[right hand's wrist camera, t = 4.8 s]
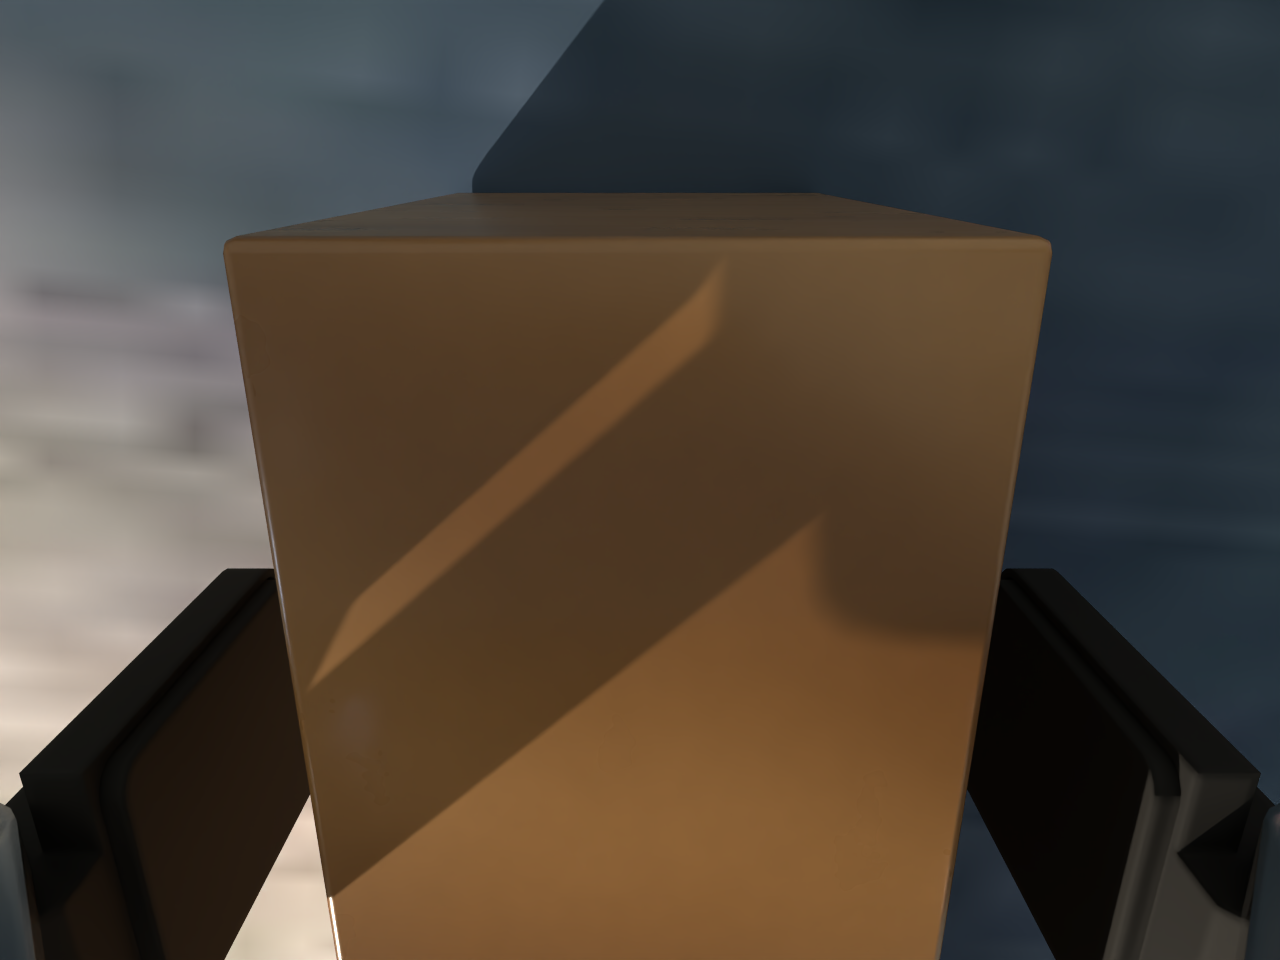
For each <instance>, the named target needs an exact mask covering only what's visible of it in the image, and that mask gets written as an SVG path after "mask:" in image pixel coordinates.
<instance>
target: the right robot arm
mask: <svg viewBox="0 0 1280 960" xmlns="http://www.w3.org/2000/svg"><path fill="white" fill-rule="evenodd" d="M1260 774H1261V773H1260V772H1259V771H1258V770H1257V769H1256V768H1255V767H1254V766H1253V765H1252V764H1251V763H1250V762H1249V761H1248V760H1247V759H1246V758H1245V757H1244V756H1243V755H1242V754H1241V753H1240V752H1239V751H1238V750H1237V749H1236V748H1235V747H1234V746H1233V745H1232V744H1231V743H1230V742H1229V741H1228V740H1227V739H1226V738H1225V737H1224V736H1223V735H1222V734H1221V733H1220V732H1219V731H1218V730H1217V729H1216V728H1215V727H1214V726H1213V725H1212V724H1211V723H1210V722H1209V721H1208V720H1207V719H1206V718H1205V717H1203V716H1202V715H1201V714H1200V713H1199V712H1198V711H1197V710H1196V709H1195V708H1194V707H1193V706H1192V705H1191V704H1190V703H1189V702H1188V701H1187V700H1186V699H1185V698H1184V697H1183V696H1182V695H1181V694H1180V693H1179V692H1178V691H1177V690H1176V689H1175V688H1174V687H1173V686H1172V685H1171V684H1170V683H1169V682H1168V681H1167V680H1166V679H1165V678H1164V677H1163V676H1162V675H1161V674H1160V673H1159V672H1158V671H1157V670H1156V669H1155V668H1154V667H1153V666H1152V665H1151V664H1150V663H1149V662H1148V661H1147V660H1146V659H1145V658H1144V657H1143V656H1142V655H1141V654H1140V653H1139V652H1138V651H1137V650H1136V649H1135V648H1134V647H1133V646H1132V645H1131V644H1130V643H1129V642H1128V641H1127V640H1126V639H1125V638H1124V637H1123V636H1122V635H1121V634H1120V633H1119V632H1118V631H1117V630H1116V629H1115V628H1114V627H1113V626H1112V625H1111V624H1110V623H1109V622H1108V621H1107V620H1106V619H1105V618H1104V617H1103V616H1102V615H1101V614H1100V613H1099V612H1098V611H1097V610H1096V609H1095V608H1094V607H1093V606H1092V605H1091V604H1090V603H1089V602H1088V601H1086V600H1085V599H1084V598H1083V597H1082V596H1081V595H1080V594H1079V593H1078V592H1077V591H1076V590H1075V589H1074V588H1073V587H1072V586H1071V585H1070V584H1069V583H1068V582H1067V581H1066V580H1065V579H1064V578H1063V577H1062V576H1061V575H1060V574H1059V573H1058V572H1057V571H1056V570H1054V569H1005V570H1004V571H1003V572H1002V574H1001V578H1000V584H999V590H998V597H997V603H996V609H995V615H994V622H993V628H992V634H991V641H990V647H989V653H988V659H987V666H986V672H985V678H984V684H983V691H982V697H981V703H980V710H979V716H978V722H977V728H976V735H975V741H974V747H973V754H972V760H971V766H970V772H969V779H968V785H967V790H968V792H969V794H970V795H971V797H972V799H973V801H974V803H975V805H976V807H977V809H978V811H979V813H980V815H981V817H982V819H983V821H984V822H985V824H986V826H987V828H988V830H989V832H990V834H991V836H992V838H993V840H994V842H995V844H996V846H997V848H998V849H999V851H1000V853H1001V855H1002V857H1003V859H1004V861H1005V863H1006V865H1007V867H1008V869H1009V871H1010V873H1011V875H1012V877H1013V878H1014V880H1015V882H1016V884H1017V886H1018V888H1019V890H1020V892H1021V894H1022V896H1023V898H1024V900H1025V902H1026V904H1027V905H1028V907H1029V909H1030V911H1031V913H1032V915H1033V917H1034V919H1035V921H1036V923H1037V925H1038V927H1039V929H1040V931H1041V932H1042V934H1043V936H1044V938H1045V940H1046V942H1047V944H1048V946H1049V948H1050V950H1051V952H1052V954H1053V956H1054V958H1055V959H1056V960H1280V803H1279V804H1277V805H1274V804H1273V803H1272V802H1271V801H1270V800H1269V799H1268V798H1267V797H1266V796H1265V795H1264V794H1263V793H1262V792H1261V791H1260V789H1259V788H1258V787H1257V784H1258V781H1259V778H1260ZM19 775H20V778H21V781H22V785H23V787H22V788H21V789H20V790H19V792H18V793H17V794H16V795H15V796H14V797H13V798H12V799H11V800H10V801H9V802H8V803H7V804H6V805H3V804H1V803H0V960H224V959H225V957H226V956H227V954H228V952H229V950H230V948H231V946H232V944H233V942H234V940H235V938H236V936H237V934H238V932H239V930H240V929H241V927H242V925H243V923H244V921H245V919H246V917H247V915H248V913H249V911H250V909H251V907H252V905H253V903H254V902H255V900H256V898H257V896H258V894H259V892H260V890H261V888H262V886H263V884H264V882H265V880H266V878H267V876H268V875H269V873H270V871H271V869H272V867H273V865H274V863H275V861H276V859H277V857H278V855H279V853H280V851H281V849H282V848H283V846H284V844H285V842H286V840H287V838H288V836H289V834H290V832H291V830H292V828H293V826H294V824H295V822H296V821H297V819H298V817H299V815H300V813H301V811H302V809H303V807H304V805H305V803H306V801H307V799H308V797H309V795H310V789H309V783H308V777H307V771H306V764H305V758H304V752H303V746H302V740H301V733H300V727H299V721H298V715H297V709H296V702H295V696H294V690H293V684H292V677H291V671H290V665H289V659H288V653H287V646H286V640H285V634H284V628H283V622H282V615H281V609H280V603H279V597H278V591H277V584H276V578H275V572H274V569H226V570H224V571H223V572H222V573H221V574H220V575H219V576H218V577H217V578H216V579H215V580H214V581H213V582H212V583H211V584H210V585H209V586H208V587H207V588H206V589H205V590H204V591H203V592H202V593H201V594H200V595H199V596H198V597H197V598H195V599H194V600H193V601H192V602H191V603H190V604H189V605H188V606H187V607H186V608H185V609H184V610H183V611H182V612H181V613H180V614H179V615H178V616H177V617H176V618H175V619H174V620H173V621H172V622H171V623H170V624H169V625H168V626H167V627H166V628H165V629H164V630H163V631H162V632H161V633H160V634H159V635H158V636H157V637H156V638H155V639H154V640H153V641H152V642H151V643H150V644H149V645H148V646H147V647H146V648H145V649H144V650H143V651H142V652H141V653H140V654H139V655H138V656H137V657H136V658H135V659H134V660H133V661H132V662H131V663H130V664H129V665H128V666H127V667H126V668H125V669H124V670H123V671H122V672H121V673H120V674H119V675H118V676H117V677H116V678H115V679H114V680H113V681H112V682H111V683H110V684H109V685H108V686H107V687H106V688H105V689H104V690H103V691H102V692H101V693H100V694H99V695H98V696H97V697H96V698H95V699H94V700H93V701H92V702H91V703H90V704H89V705H88V706H87V707H86V708H85V709H84V710H83V711H82V712H81V713H80V714H78V715H77V716H76V717H75V718H74V719H73V720H72V721H71V722H70V723H69V724H68V725H67V726H66V727H65V728H64V729H63V730H62V731H61V732H60V733H59V734H58V735H57V736H56V737H55V738H54V739H53V740H52V741H51V742H50V743H49V744H48V745H47V746H46V747H45V748H44V749H43V750H42V751H41V752H40V753H39V754H38V755H37V756H36V757H35V758H34V759H33V760H32V761H31V762H30V763H29V764H28V765H27V766H26V767H25V768H24V769H23V770H22V771H21V772H20V773H19Z"/></svg>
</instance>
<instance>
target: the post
mask: <svg viewBox="0 0 1280 960" xmlns="http://www.w3.org/2000/svg"><path fill="white" fill-rule="evenodd" d="M223 255H224V262H225V268H226V274H227V280H228V286H229V293H230V299H231V305H232V311H233V317H234V324H235V330H236V336H237V342H238V348H239V355H240V361H241V367H242V373H243V379H244V386H245V392H246V398H247V404H248V411H249V417H250V423H251V429H252V435H253V442H254V448H255V454H256V460H257V466H258V473H259V479H260V485H261V491H262V497H263V504H264V510H265V516H266V522H267V528H268V535H269V541H270V547H271V553H272V560H273V566H274V572H275V578H276V584H277V591H278V597H279V603H280V609H281V615H282V622H283V628H284V634H285V640H286V646H287V653H288V659H289V665H290V671H291V677H292V684H293V690H294V696H295V702H296V709H297V715H298V721H299V727H300V733H301V740H302V746H303V752H304V758H305V764H306V771H307V777H308V783H309V789H310V795H311V802H312V808H313V814H314V820H315V826H316V833H317V839H318V845H319V851H320V858H321V864H322V870H323V876H324V882H325V889H326V895H327V901H328V907H329V913H330V920H331V926H332V932H333V938H334V944H335V951H336V957H337V960H940V954H941V948H942V942H943V936H944V929H945V923H946V917H947V910H948V904H949V898H950V892H951V885H952V879H953V873H954V867H955V860H956V854H957V848H958V841H959V835H960V829H961V823H962V816H963V810H964V804H965V797H966V791H967V785H968V779H969V772H970V766H971V760H972V754H973V747H974V741H975V735H976V728H977V722H978V716H979V710H980V703H981V697H982V691H983V684H984V678H985V672H986V666H987V659H988V653H989V647H990V641H991V634H992V628H993V622H994V615H995V609H996V603H997V597H998V590H999V584H1000V578H1001V571H1002V565H1003V559H1004V553H1005V546H1006V540H1007V534H1008V527H1009V521H1010V515H1011V509H1012V502H1013V496H1014V490H1015V484H1016V477H1017V471H1018V465H1019V458H1020V452H1021V446H1022V440H1023V433H1024V427H1025V421H1026V414H1027V408H1028V402H1029V396H1030V389H1031V383H1032V377H1033V371H1034V364H1035V358H1036V352H1037V345H1038V339H1039V333H1040V327H1041V320H1042V314H1043V308H1044V301H1045V295H1046V289H1047V283H1048V276H1049V270H1050V264H1051V258H1052V249H1051V243H1050V242H1049V240H1046V239H1044V238H1042V237H1040V236H1036V235H1031V234H1026V233H1021V232H1016V231H1011V230H1005V229H1000V228H995V227H990V226H985V225H980V224H974V223H969V222H964V221H959V220H954V219H949V218H944V217H938V216H933V215H928V214H923V213H918V212H913V211H908V210H902V209H897V208H892V207H887V206H882V205H877V204H871V203H866V202H861V201H856V200H851V199H846V198H841V197H835V196H830V195H825V194H820V193H456V194H450V195H445V196H440V197H435V198H430V199H425V200H420V201H415V202H409V203H404V204H399V205H394V206H389V207H384V208H379V209H373V210H368V211H363V212H358V213H353V214H348V215H343V216H338V217H332V218H327V219H322V220H317V221H312V222H307V223H302V224H297V225H291V226H286V227H281V228H276V229H271V230H266V231H261V232H255V233H250V234H245V235H240V236H236V237H234V238H232V239H229V240H227V241H226V242H225V245H224V252H223Z"/></svg>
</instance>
